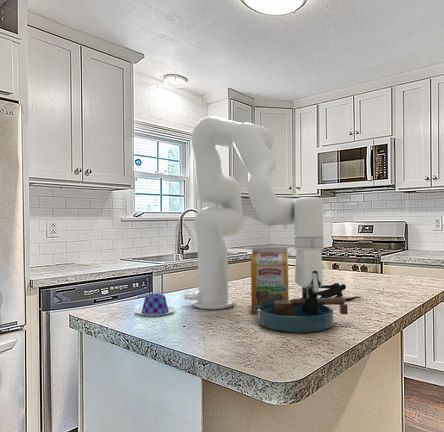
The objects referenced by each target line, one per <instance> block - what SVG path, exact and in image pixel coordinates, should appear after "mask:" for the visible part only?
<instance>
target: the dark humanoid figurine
mask: <svg viewBox="0 0 444 432" xmlns="http://www.w3.org/2000/svg"><path fill="white" fill-rule="evenodd" d="M346 288H347V286H346V284H345V283H342V284H340V283H339V282H335V283H333V284H328V285H323V284H322V287H320V288H319V289H324V290H319V293H318V297H319V296H320V297H319V298H344V299H345V302H350V301H353V300H356V299H363V300H364V298H363V297H364V295H362V296H352V297H351V296H350V297H346V298H345V297H343V295H344V294H343V291H344V290H346ZM299 299H302V297H301V298H299Z"/></svg>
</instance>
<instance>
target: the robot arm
mask: <svg viewBox="0 0 444 432" xmlns="http://www.w3.org/2000/svg"><path fill="white" fill-rule="evenodd" d="M273 145H274V136H273V134H272V132H271V131H270V129H269V128H268V127H265V126H263V125H259V124H255V123H252V122H238V121H235V120H230V119H227V118H224V117H219V116H212V115H211V116H205V117H203V118H201V119H200V120H199V121H198V122H196V124H195V126H194V128H193V130H192V135H191V147H192V152H193V153H192V154H193V157H194V169H195V172H194V173H195V183H196V184H195V187H196V194H197V197H198V199H199V201H200V202H203V203H206V204H217V205H218V206H209V207H208V206H207V207H203V208H201V209H200V210H199V211H197V212H196V214H195V216H194V219H193V226H194V227H193V228H194V231H195V236H196V243H197V244H196V245H197V274H198V275H197V279H198V281H197V282H198V284H197V285H198V289H197V290H196V292H194V293H190V292H189V293H184V300H186V301H187V300H188V301H193V306H194V308H198V309H203V310H223V309H228V308H231V307H233V306H234V301H233V300H231V299H230V298H229V273H228V272H229V270H228V269H229V268H228V267H229V265H228V264H229V263H228V248H227V244H226V240H225V238H224V237H228V236H229V237H231V236H234V235H236V234H238V233H239V232H240V231H241V229H242V226H243V203H242V202H243V201H242V191H241V185H240V184H239V182H238V181H237V179H235V177H233V176H230V175H228V174H227V175H225V174H223V170H222V160H221V156H220V154H219V151H218V150H217V147H216V146H222V147H227V148H231V149H235V150H236V153H237V154H238V156H239V159H240V161H241V163H242V164H243V166H244V168H245V171H246V173H247V175H248V180H247V194H248V198H249V201H250V203H251V205H252V207H253V209H254V211H255V213H256V214H257V217H258V218H259V219H260V220H261V221H262V222H263V223H264V224H266V225H268V226H287V225H293V232H294V234H293V236H294V238H293V239H294V241H293V243H294V244H293V245H294V250H296V251H295V252H296V253H295V266H294V267H295V271H294V281H295V283H296V284H297V285H298V286H299V287H301V296H302V297H301V298H302V299H304V298H306V299H305V305H302V311H303V312H305V314H307V315H313V314H318V298H319V296H318V293H319V291H320V289H321V288H320V287H322V286H323V278H324V277H323V276H324V275H323V259H322V258H323V257H322V250H324V248H325V247H324V246H325V245H324V244H325V243H324V242H325V241H324V202H323V199H322V198H321V197H317V196H304V197H303V196H302V197H301V196H300V197H297V198H294V197H293V198H292V197H283V196H282V197H281V196H280V197H279V196H276V194H275V193H274V190H273V188H272V186H271V184H270V181H269V175H270V173H272V172H273V171H274V170H275V168H276V160H275V158H274V156H273V155H272V153H271V151H270V150H271V149H272V148H273Z"/></svg>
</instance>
